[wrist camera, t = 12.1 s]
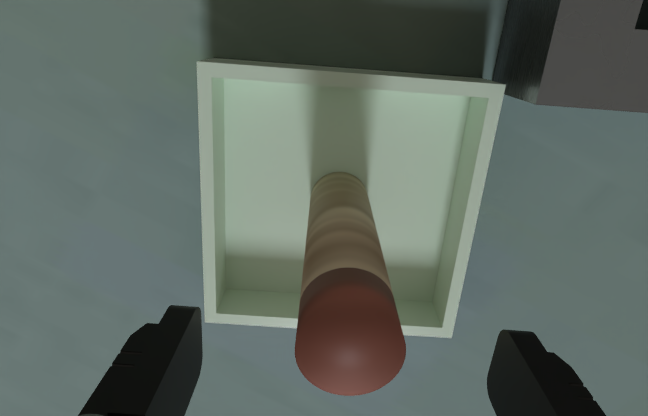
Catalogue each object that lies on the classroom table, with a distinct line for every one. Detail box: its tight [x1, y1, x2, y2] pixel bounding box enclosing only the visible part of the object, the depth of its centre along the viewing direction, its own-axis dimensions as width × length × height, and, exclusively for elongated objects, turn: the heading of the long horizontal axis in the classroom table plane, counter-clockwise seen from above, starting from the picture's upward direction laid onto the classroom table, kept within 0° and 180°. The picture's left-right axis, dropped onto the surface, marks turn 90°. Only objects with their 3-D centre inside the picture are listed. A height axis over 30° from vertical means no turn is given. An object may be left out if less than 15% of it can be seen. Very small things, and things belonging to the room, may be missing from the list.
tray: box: [197, 58, 506, 338], centre depth 22 cm, size 13×13×3 cm
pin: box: [295, 172, 406, 396], centre depth 18 cm, size 3×3×12 cm
